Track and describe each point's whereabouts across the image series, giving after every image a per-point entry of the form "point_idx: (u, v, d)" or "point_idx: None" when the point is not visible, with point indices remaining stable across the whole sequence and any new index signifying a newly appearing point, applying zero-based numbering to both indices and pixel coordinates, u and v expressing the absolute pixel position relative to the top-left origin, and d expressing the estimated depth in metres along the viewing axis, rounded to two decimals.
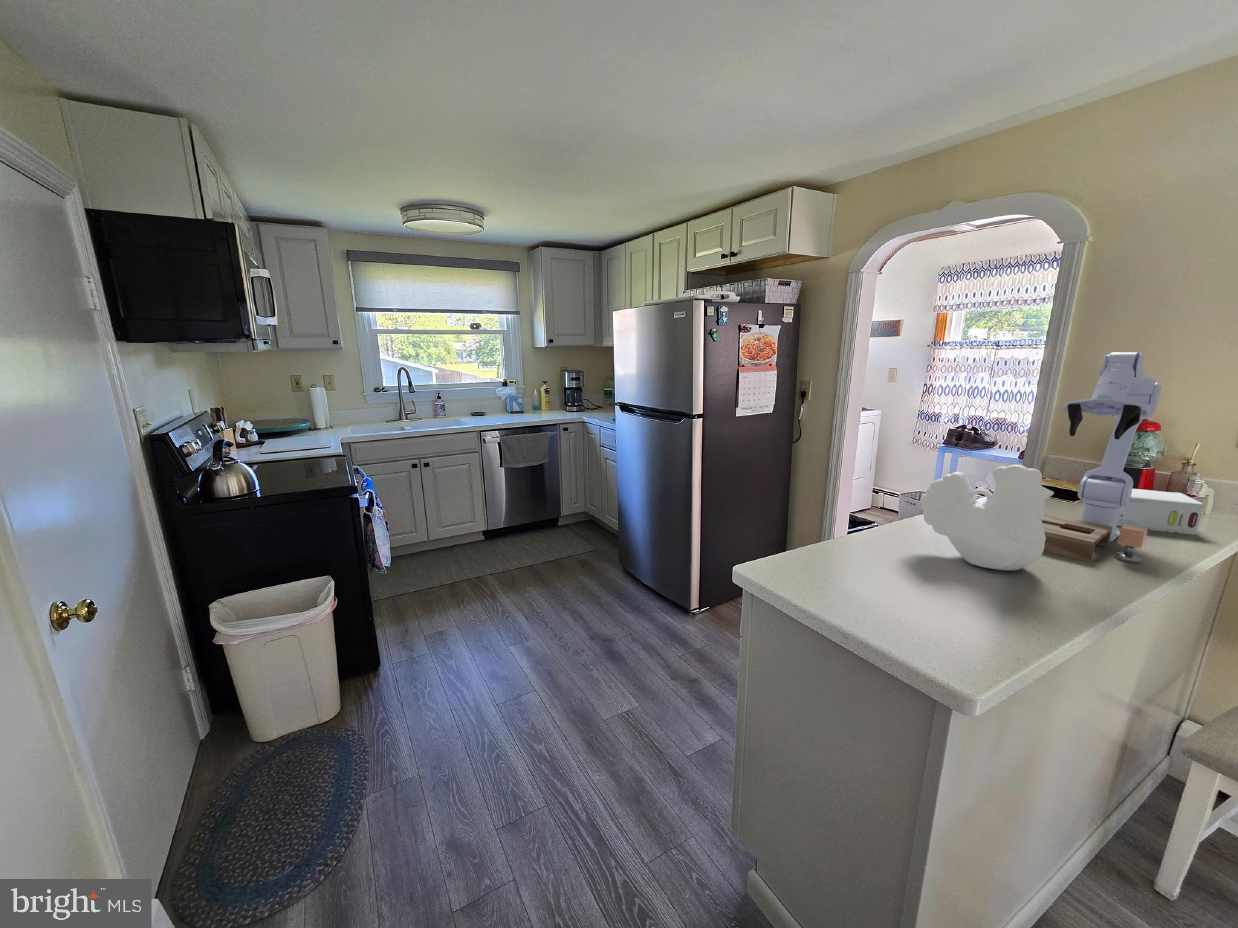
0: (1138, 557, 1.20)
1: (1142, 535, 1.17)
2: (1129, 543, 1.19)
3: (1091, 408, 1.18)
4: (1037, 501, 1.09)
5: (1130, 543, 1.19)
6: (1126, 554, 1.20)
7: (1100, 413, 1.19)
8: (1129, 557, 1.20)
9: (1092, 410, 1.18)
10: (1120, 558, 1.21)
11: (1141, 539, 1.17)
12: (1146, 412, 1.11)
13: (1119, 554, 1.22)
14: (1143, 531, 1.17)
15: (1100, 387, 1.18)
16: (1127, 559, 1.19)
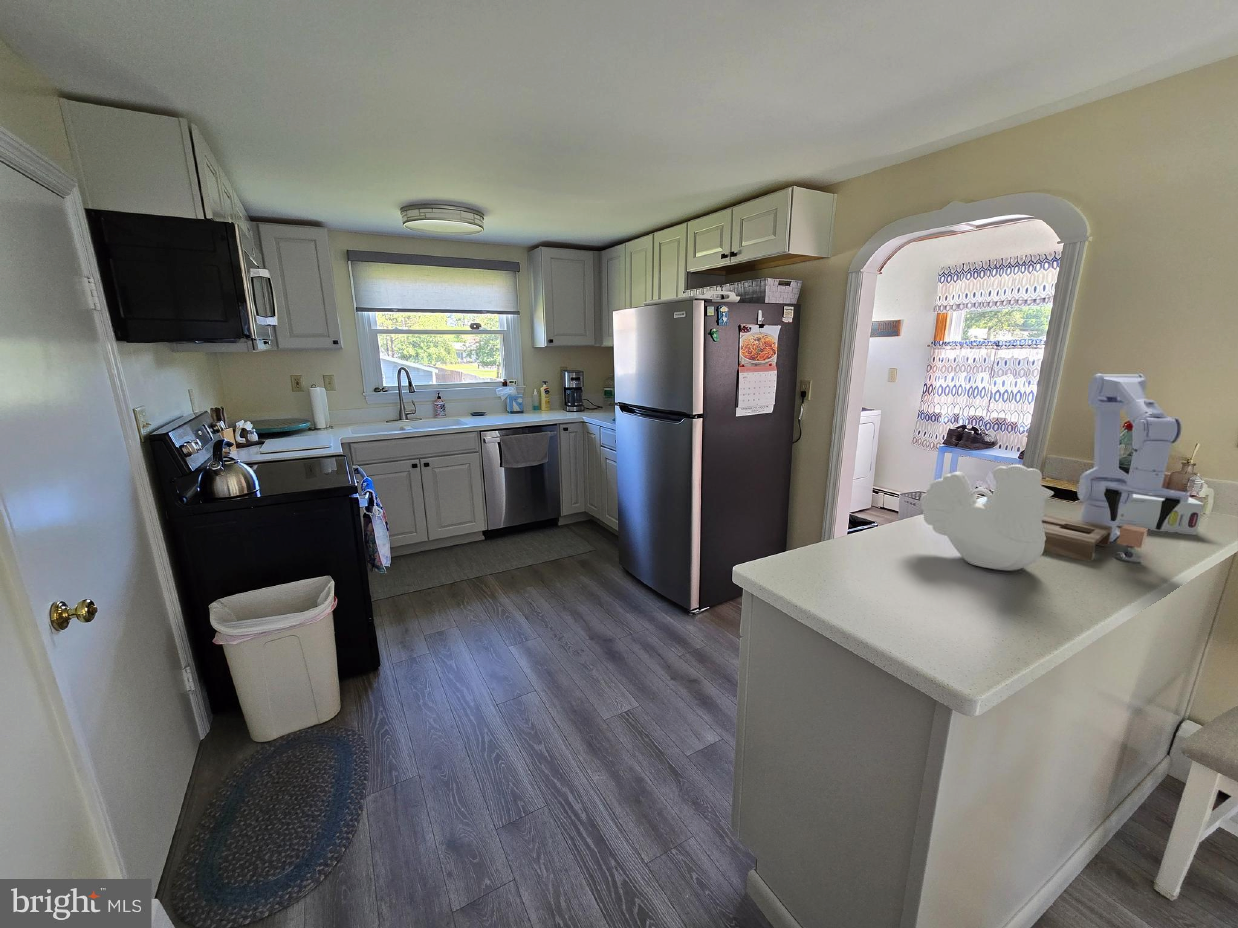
0: (1138, 557, 1.20)
1: (1142, 535, 1.17)
2: (1129, 543, 1.19)
3: (1129, 491, 1.19)
4: (1037, 501, 1.09)
5: (1130, 543, 1.19)
6: (1126, 554, 1.20)
7: None
8: (1129, 557, 1.20)
9: (1130, 493, 1.19)
10: (1120, 558, 1.21)
11: (1141, 539, 1.17)
12: None
13: (1119, 554, 1.22)
14: (1143, 531, 1.17)
15: (1135, 473, 1.16)
16: (1127, 559, 1.19)
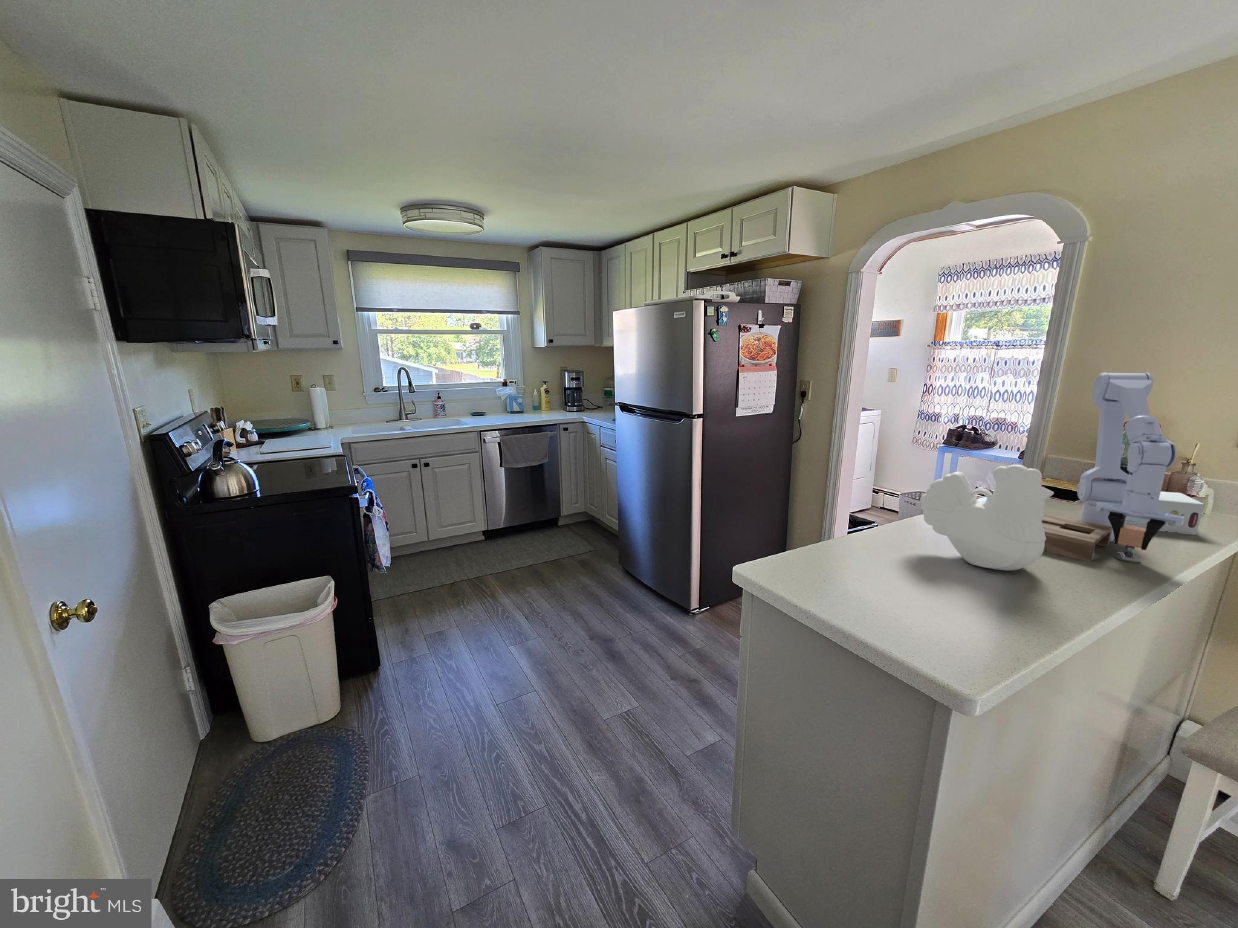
0: (1138, 557, 1.20)
1: (1142, 535, 1.17)
2: (1129, 543, 1.19)
3: (1124, 513, 1.20)
4: (1037, 501, 1.09)
5: (1130, 543, 1.19)
6: (1126, 554, 1.20)
7: None
8: (1129, 557, 1.20)
9: (1126, 515, 1.20)
10: (1120, 558, 1.21)
11: (1141, 539, 1.17)
12: None
13: (1119, 554, 1.22)
14: (1143, 531, 1.17)
15: (1130, 496, 1.17)
16: (1127, 559, 1.19)
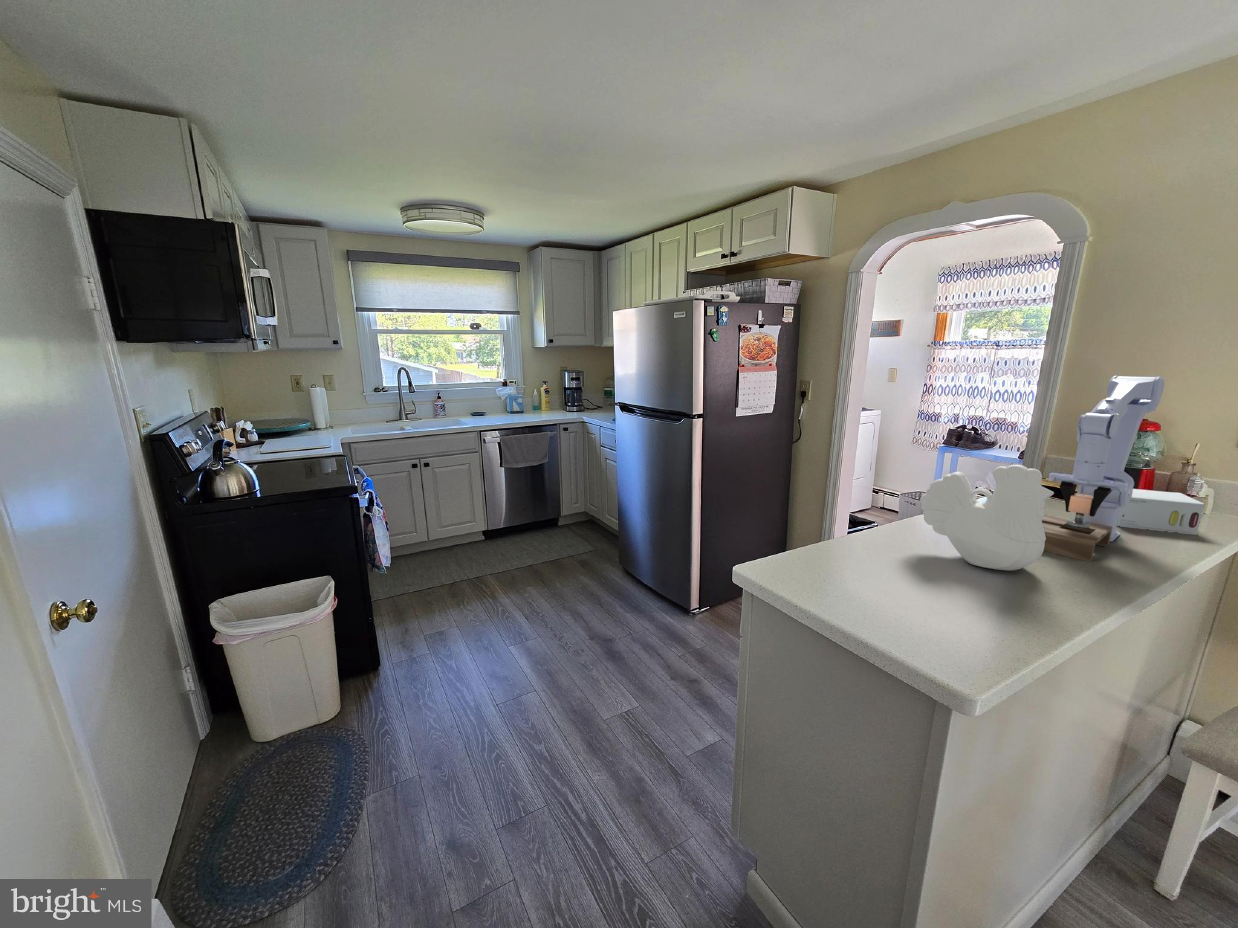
0: (1088, 523, 1.27)
1: (1090, 502, 1.24)
2: (1078, 510, 1.26)
3: (1074, 482, 1.27)
4: (1037, 501, 1.09)
5: (1079, 510, 1.25)
6: (1076, 521, 1.27)
7: None
8: (1079, 524, 1.26)
9: (1076, 484, 1.27)
10: (1070, 525, 1.27)
11: (1089, 506, 1.24)
12: (1124, 491, 1.20)
13: (1070, 521, 1.28)
14: (1091, 498, 1.24)
15: (1079, 465, 1.24)
16: (1077, 525, 1.26)
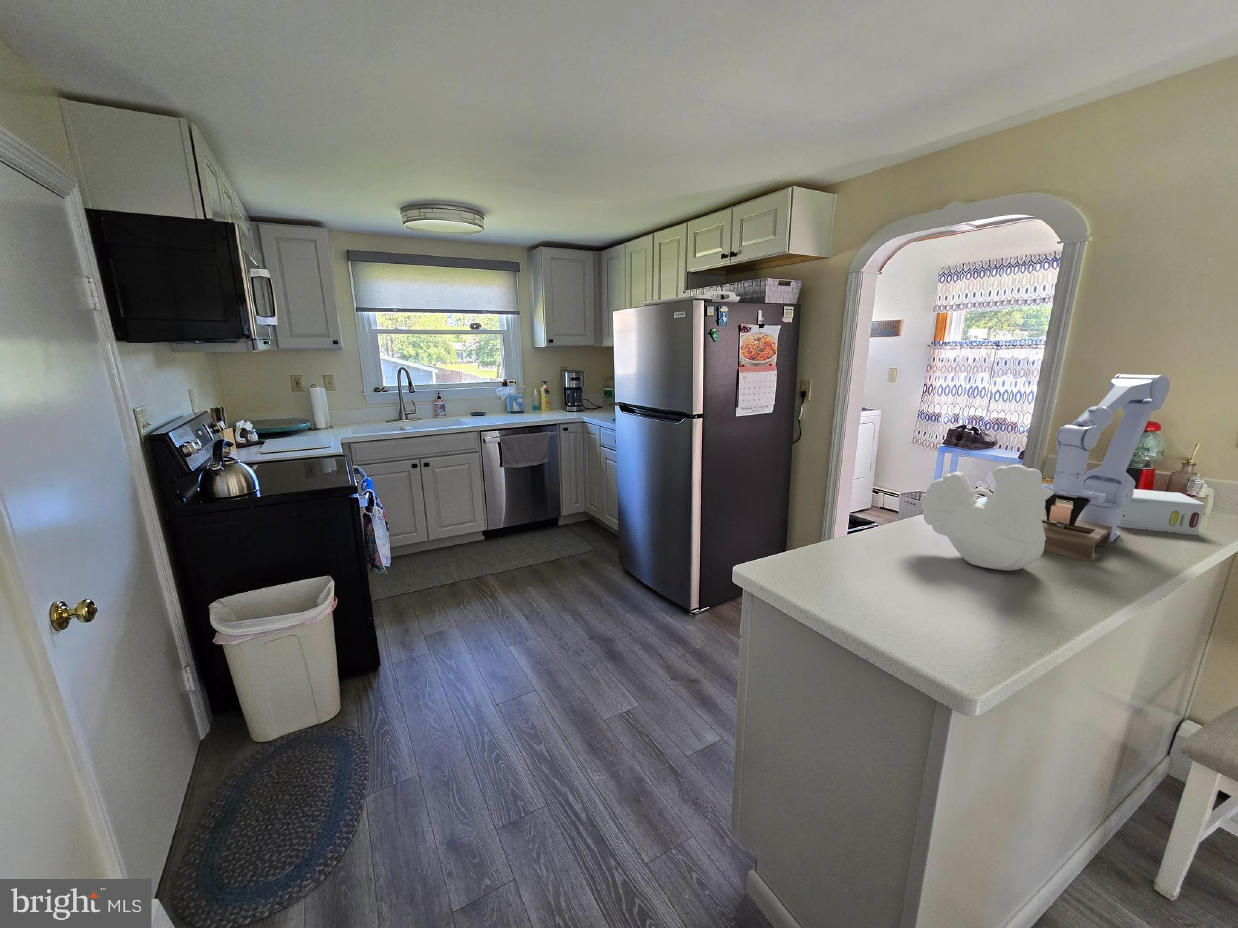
0: None
1: (1070, 512, 1.27)
2: (1059, 519, 1.29)
3: (1055, 492, 1.30)
4: (1037, 501, 1.09)
5: (1059, 519, 1.29)
6: None
7: None
8: None
9: (1056, 494, 1.30)
10: None
11: (1069, 515, 1.27)
12: (1102, 501, 1.23)
13: None
14: (1071, 508, 1.27)
15: (1059, 476, 1.28)
16: None
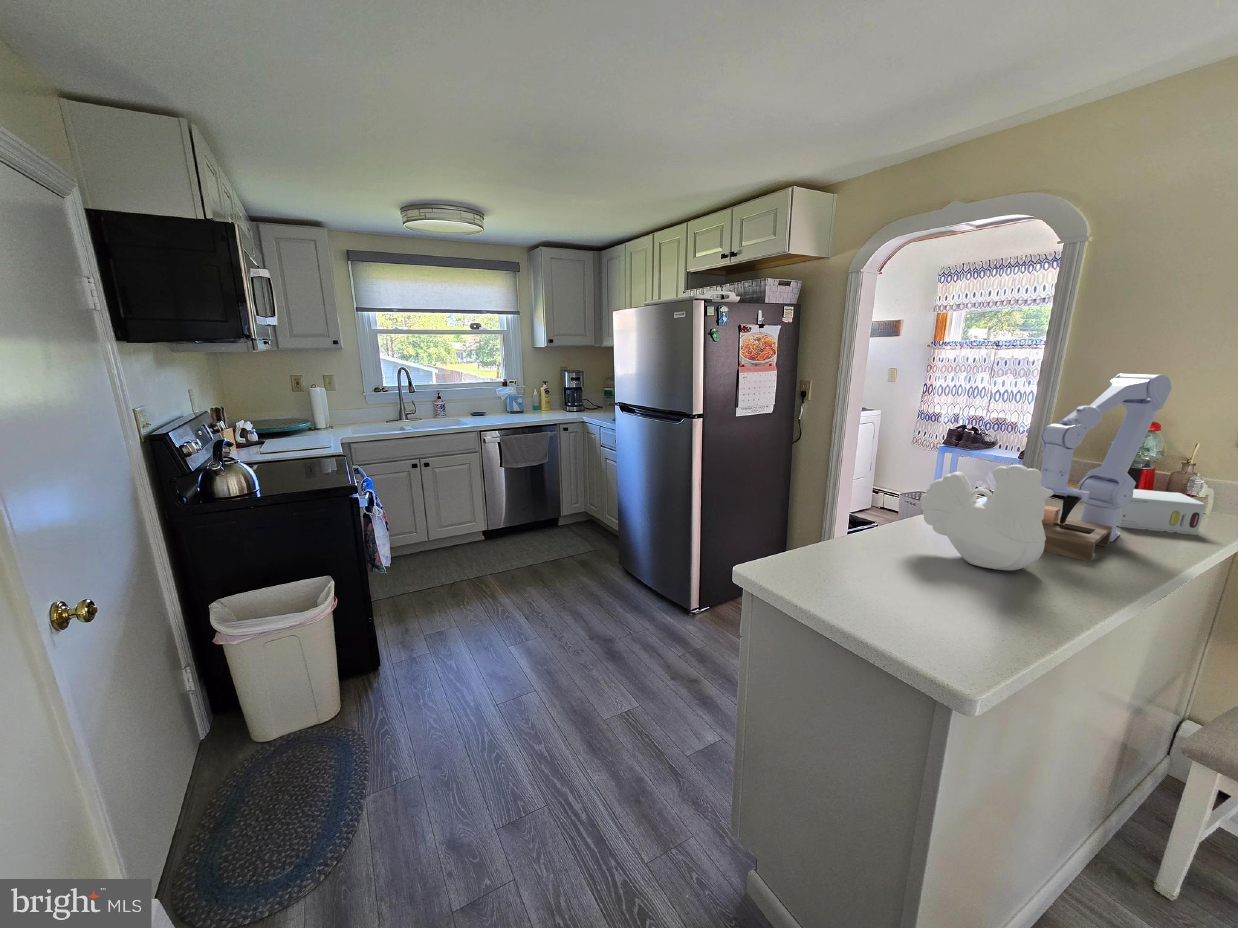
0: None
1: (1054, 514, 1.30)
2: (1043, 521, 1.32)
3: None
4: (1037, 501, 1.09)
5: (1044, 521, 1.32)
6: None
7: None
8: None
9: None
10: None
11: (1053, 517, 1.30)
12: None
13: None
14: (1055, 510, 1.30)
15: (1044, 474, 1.30)
16: None
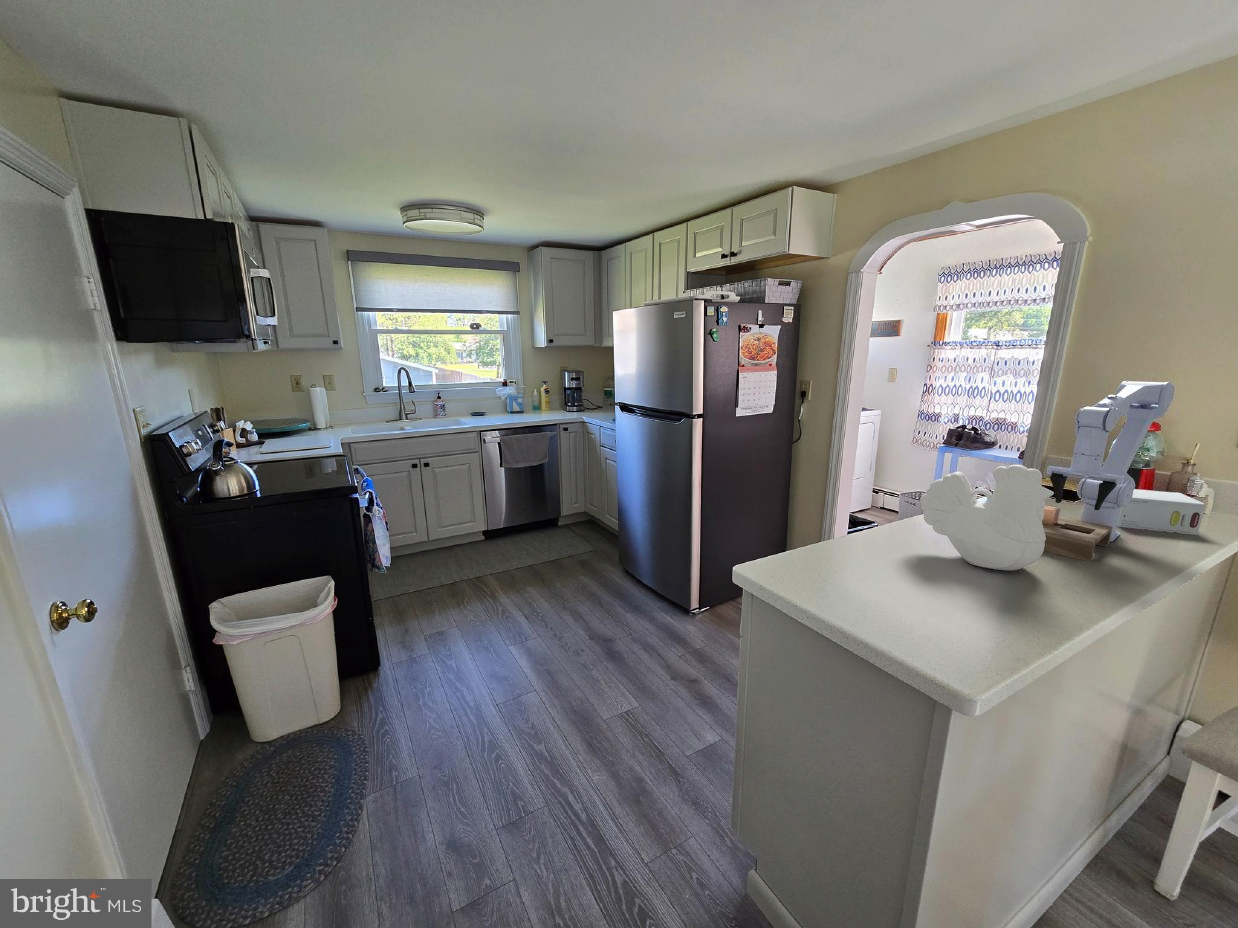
0: None
1: (1054, 514, 1.30)
2: (1043, 521, 1.32)
3: (1072, 475, 1.29)
4: (1037, 501, 1.09)
5: (1044, 521, 1.32)
6: None
7: None
8: None
9: (1073, 476, 1.29)
10: None
11: (1053, 517, 1.30)
12: None
13: None
14: (1055, 510, 1.30)
15: (1077, 458, 1.26)
16: None
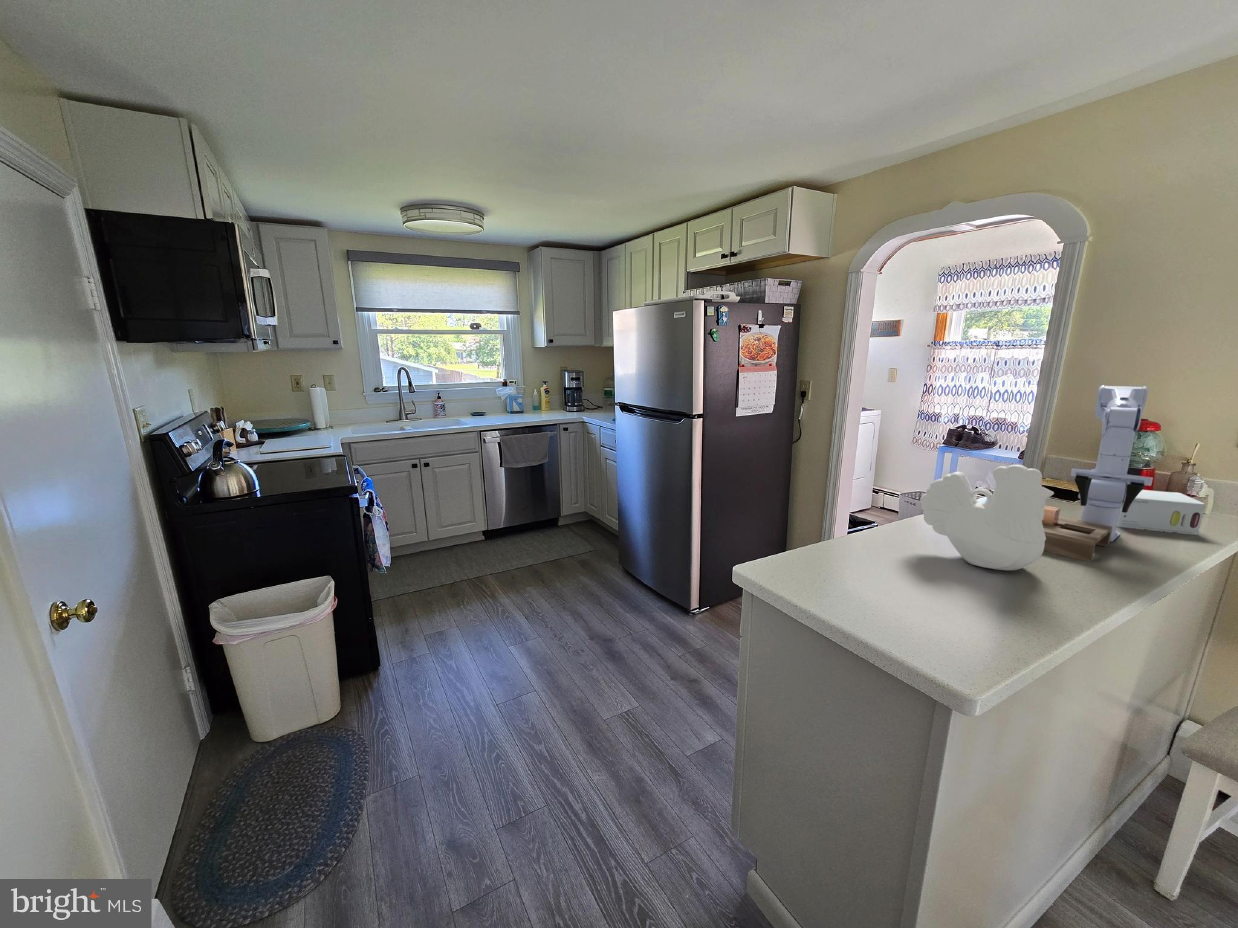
0: None
1: (1054, 514, 1.30)
2: (1043, 521, 1.32)
3: (1097, 477, 1.26)
4: (1037, 501, 1.09)
5: (1044, 521, 1.32)
6: None
7: None
8: None
9: (1099, 478, 1.26)
10: None
11: (1053, 517, 1.30)
12: None
13: None
14: (1055, 510, 1.30)
15: (1103, 459, 1.24)
16: None
